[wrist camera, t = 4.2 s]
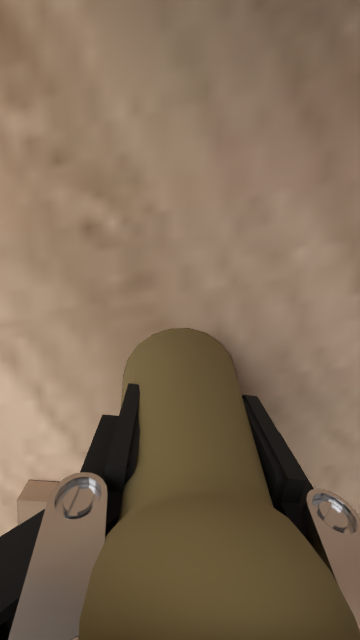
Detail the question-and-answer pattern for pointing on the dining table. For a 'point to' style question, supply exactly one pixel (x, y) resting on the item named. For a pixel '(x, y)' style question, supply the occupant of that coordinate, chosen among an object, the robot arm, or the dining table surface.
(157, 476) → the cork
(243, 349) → the dining table surface
